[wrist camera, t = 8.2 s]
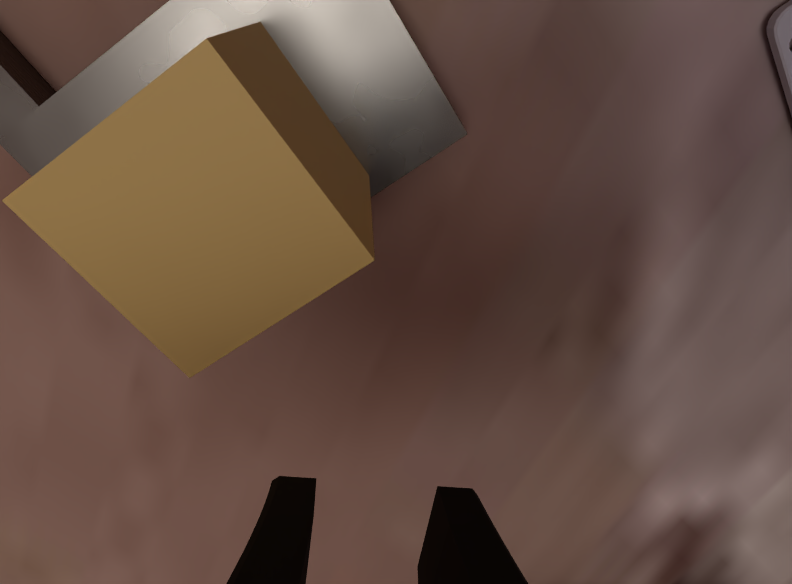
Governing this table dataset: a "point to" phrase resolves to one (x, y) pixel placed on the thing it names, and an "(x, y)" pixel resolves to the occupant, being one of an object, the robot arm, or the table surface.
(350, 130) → the gray rectangular frame
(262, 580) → the robot arm
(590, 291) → the table surface
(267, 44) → the block
